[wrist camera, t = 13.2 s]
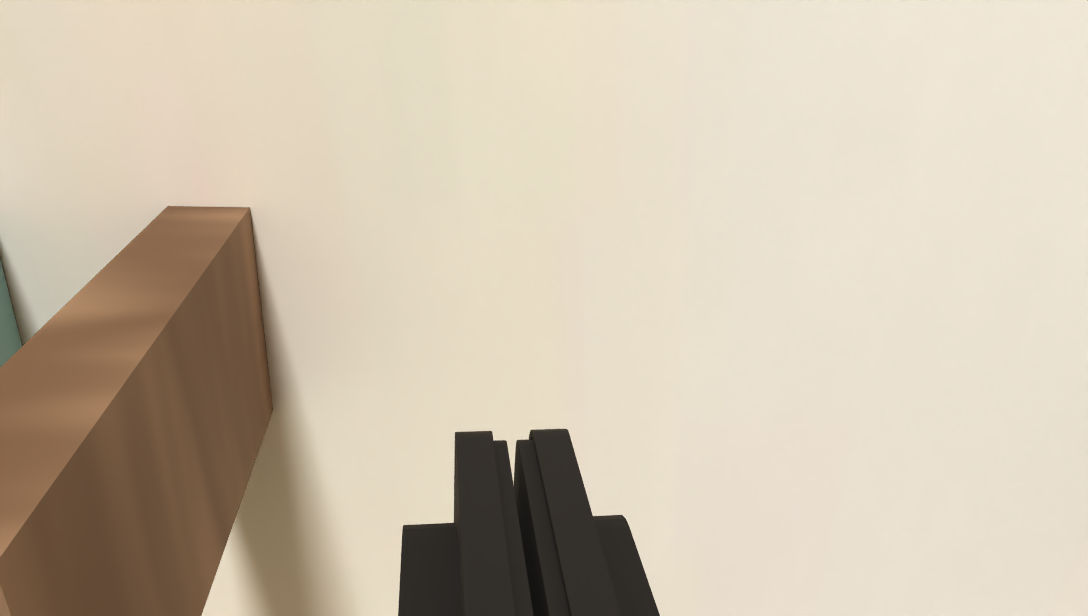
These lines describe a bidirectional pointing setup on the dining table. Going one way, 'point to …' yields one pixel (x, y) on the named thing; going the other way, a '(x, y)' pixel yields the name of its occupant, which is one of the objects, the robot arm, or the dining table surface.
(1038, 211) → the dining table surface
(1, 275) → the domino
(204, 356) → the domino
